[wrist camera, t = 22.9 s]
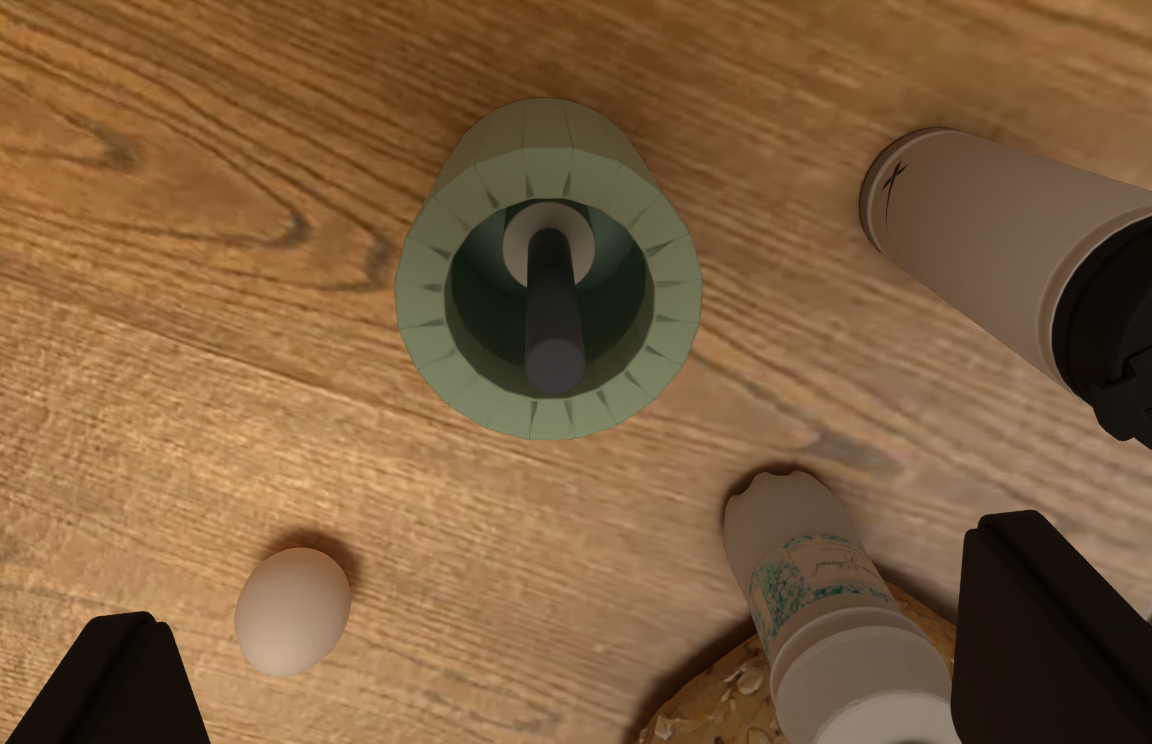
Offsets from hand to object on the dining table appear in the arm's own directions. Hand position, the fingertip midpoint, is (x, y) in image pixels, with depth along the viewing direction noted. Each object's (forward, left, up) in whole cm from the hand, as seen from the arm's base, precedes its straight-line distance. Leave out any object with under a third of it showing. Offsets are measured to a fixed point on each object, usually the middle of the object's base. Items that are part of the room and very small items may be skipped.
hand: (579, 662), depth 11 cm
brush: (+1, -1, -31) cm, 31 cm away
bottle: (+21, -1, -32) cm, 38 cm away
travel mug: (+11, +13, -32) cm, 36 cm away
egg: (+9, -22, -32) cm, 40 cm away
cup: (+1, -1, -32) cm, 32 cm away
